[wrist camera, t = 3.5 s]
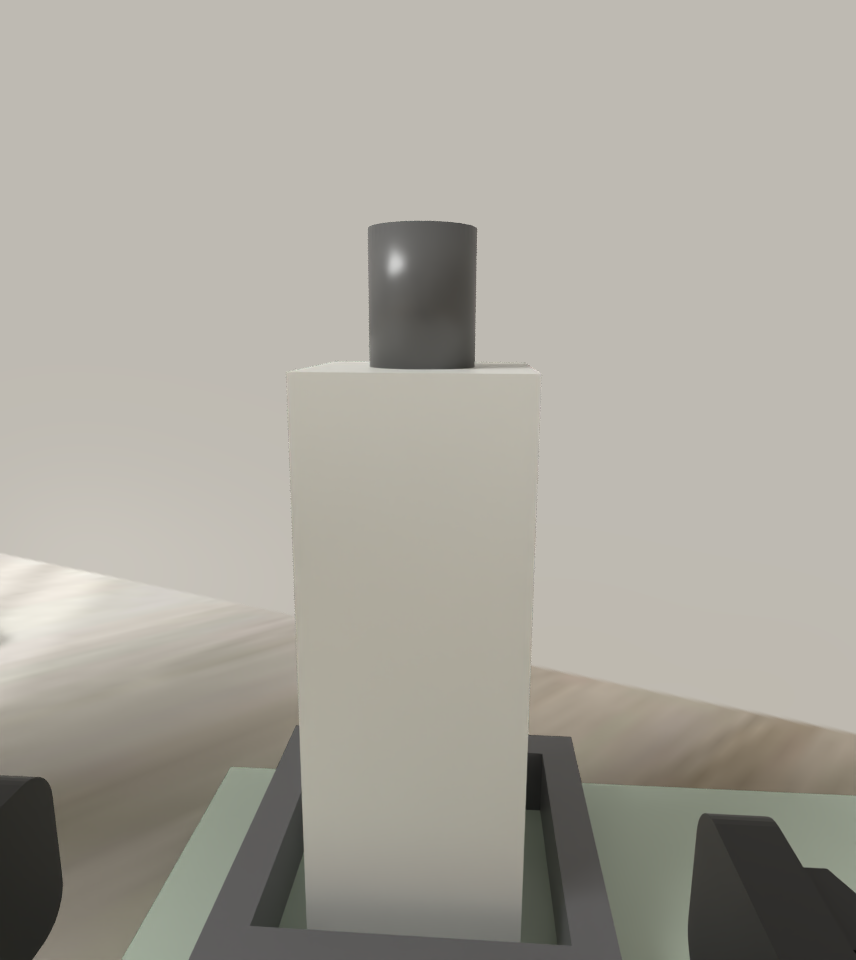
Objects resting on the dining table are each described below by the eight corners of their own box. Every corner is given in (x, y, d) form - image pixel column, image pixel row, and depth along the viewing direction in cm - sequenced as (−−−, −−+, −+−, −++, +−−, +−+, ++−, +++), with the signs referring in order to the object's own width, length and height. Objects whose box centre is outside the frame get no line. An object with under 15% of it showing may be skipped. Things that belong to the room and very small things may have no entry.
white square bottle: (308, 964, 17) (280, 211, 13) (346, 822, 22) (333, 243, 18) (519, 978, 16) (547, 209, 13) (509, 830, 21) (528, 242, 18)
